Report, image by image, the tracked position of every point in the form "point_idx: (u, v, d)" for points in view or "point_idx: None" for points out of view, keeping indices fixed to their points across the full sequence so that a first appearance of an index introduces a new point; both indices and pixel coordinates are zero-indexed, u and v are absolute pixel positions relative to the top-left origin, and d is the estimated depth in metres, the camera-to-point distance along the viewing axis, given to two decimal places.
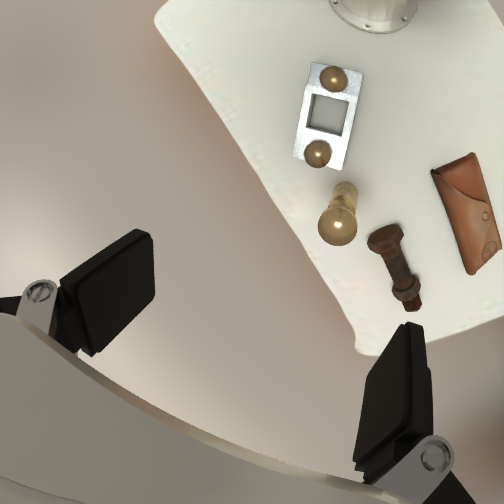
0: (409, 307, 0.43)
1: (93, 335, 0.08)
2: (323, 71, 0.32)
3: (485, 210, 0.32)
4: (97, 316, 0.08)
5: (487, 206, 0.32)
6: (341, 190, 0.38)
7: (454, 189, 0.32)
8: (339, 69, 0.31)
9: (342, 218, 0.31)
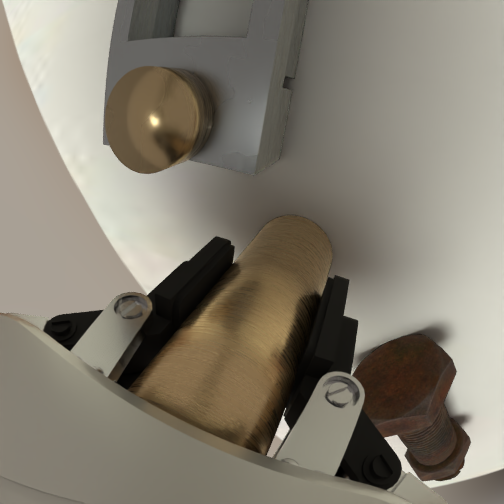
0: None
1: None
2: None
3: None
4: None
5: None
6: (251, 262, 0.10)
7: None
8: None
9: None
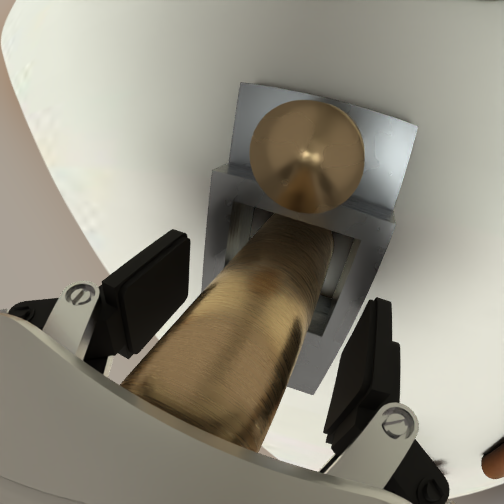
0: None
1: (133, 337, 0.09)
2: (266, 125, 0.09)
3: None
4: (138, 317, 0.09)
5: None
6: (258, 247, 0.10)
7: None
8: (333, 115, 0.08)
9: None
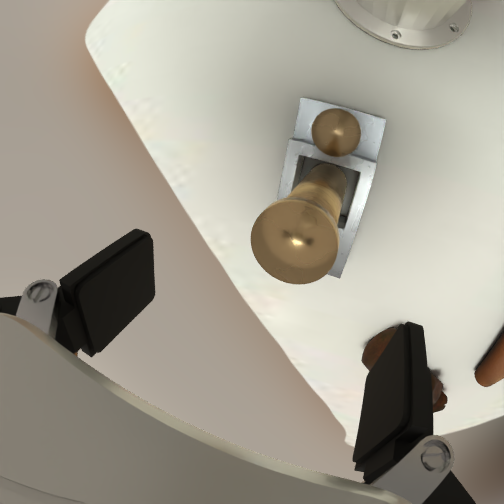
0: None
1: (93, 335, 0.08)
2: (319, 118, 0.19)
3: None
4: (97, 316, 0.08)
5: None
6: (315, 173, 0.21)
7: None
8: (347, 115, 0.19)
9: (303, 224, 0.14)
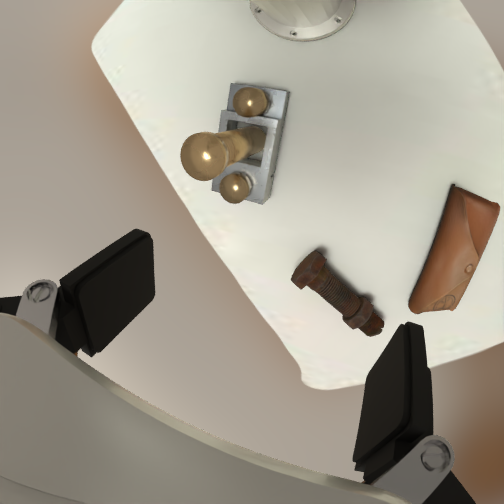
0: (368, 332, 0.39)
1: (93, 335, 0.08)
2: (236, 94, 0.30)
3: (473, 263, 0.30)
4: (97, 316, 0.08)
5: (477, 261, 0.29)
6: None
7: (466, 219, 0.27)
8: (254, 90, 0.29)
9: (205, 144, 0.25)
